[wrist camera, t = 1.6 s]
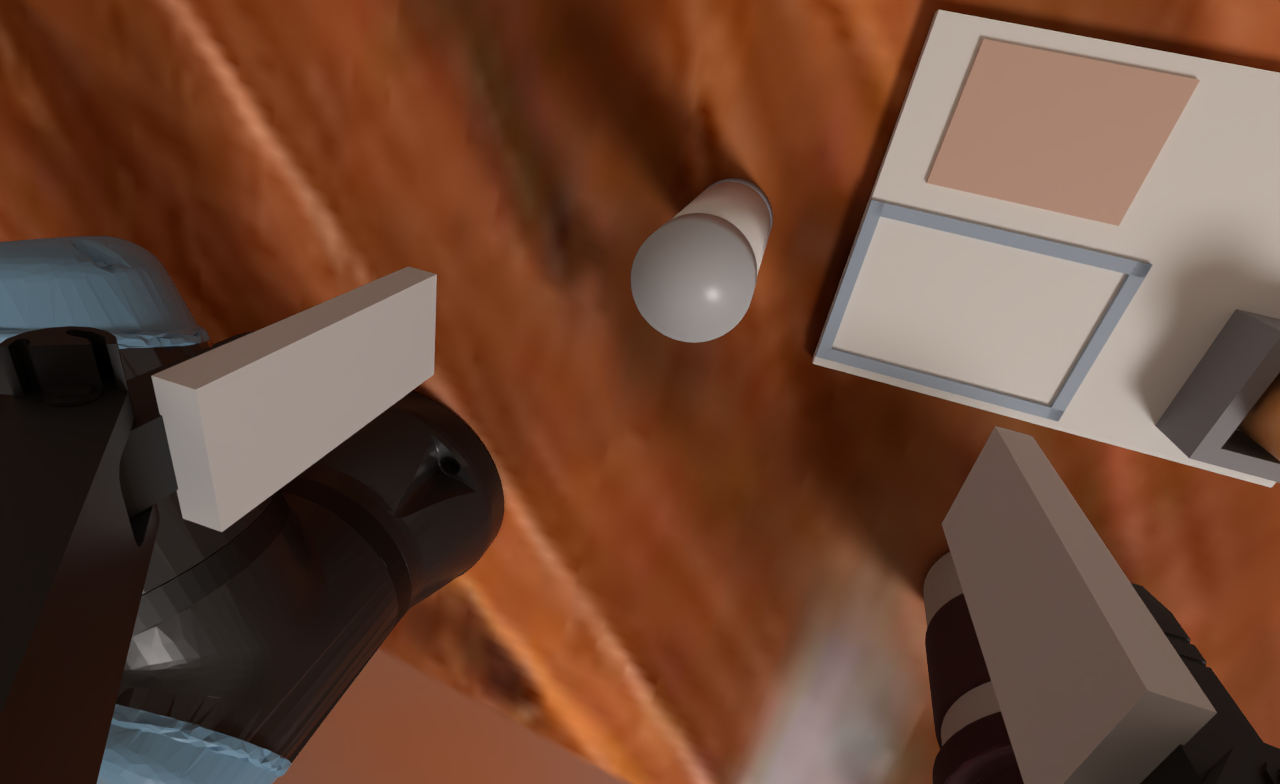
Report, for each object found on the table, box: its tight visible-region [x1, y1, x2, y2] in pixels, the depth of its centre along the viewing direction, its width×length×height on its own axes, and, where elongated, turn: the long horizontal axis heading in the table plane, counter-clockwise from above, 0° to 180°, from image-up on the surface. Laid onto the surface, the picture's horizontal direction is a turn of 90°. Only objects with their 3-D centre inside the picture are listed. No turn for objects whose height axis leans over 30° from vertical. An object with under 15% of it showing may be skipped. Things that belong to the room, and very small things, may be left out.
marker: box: [631, 178, 773, 342], centre depth 25 cm, size 4×4×12 cm
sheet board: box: [813, 10, 1280, 488], centre depth 26 cm, size 22×16×4 cm
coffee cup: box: [923, 552, 1024, 784], centre depth 29 cm, size 10×10×15 cm
